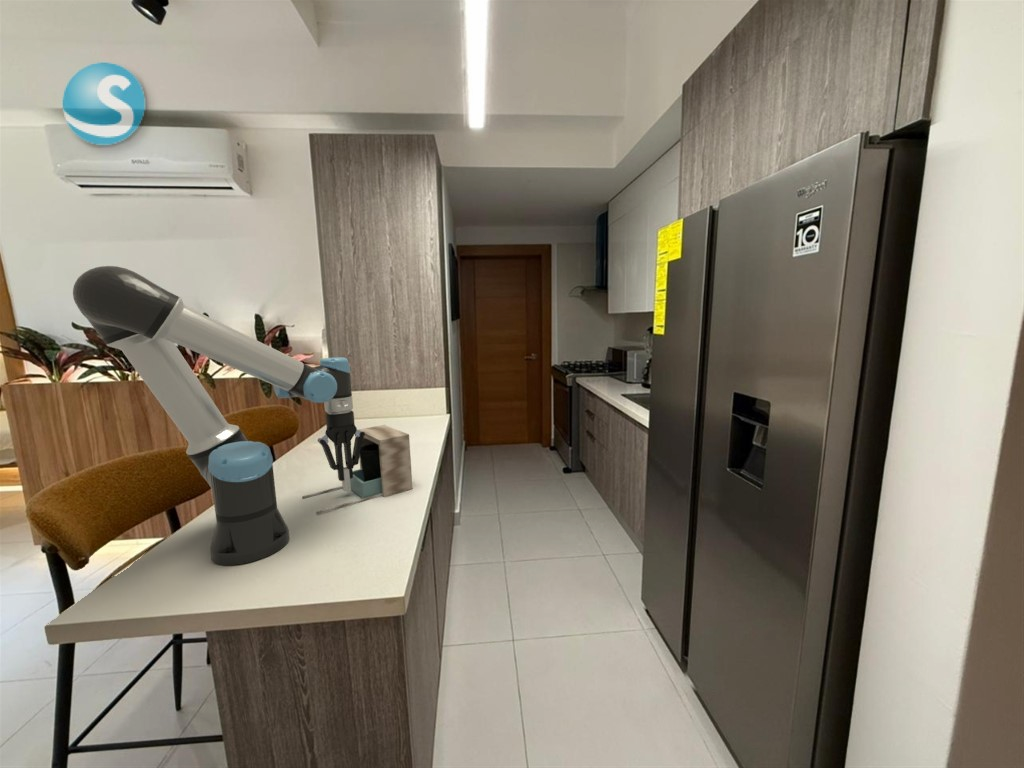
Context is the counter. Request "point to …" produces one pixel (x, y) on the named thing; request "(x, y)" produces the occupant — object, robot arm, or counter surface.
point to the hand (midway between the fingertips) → (346, 489)
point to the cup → (370, 462)
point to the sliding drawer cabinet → (385, 462)
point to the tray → (365, 485)
